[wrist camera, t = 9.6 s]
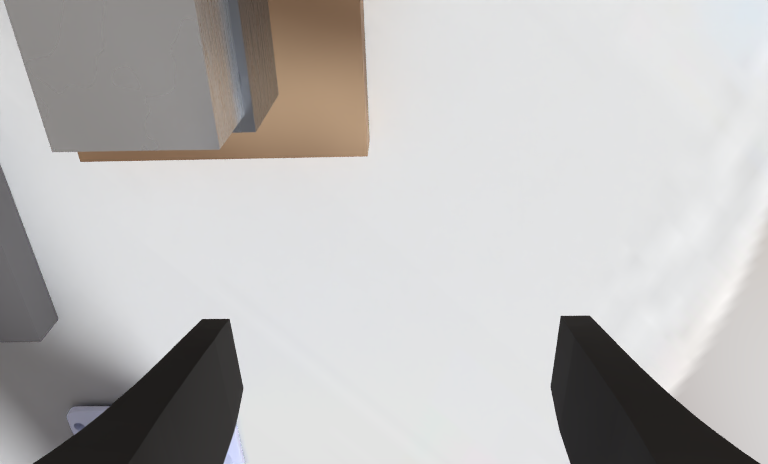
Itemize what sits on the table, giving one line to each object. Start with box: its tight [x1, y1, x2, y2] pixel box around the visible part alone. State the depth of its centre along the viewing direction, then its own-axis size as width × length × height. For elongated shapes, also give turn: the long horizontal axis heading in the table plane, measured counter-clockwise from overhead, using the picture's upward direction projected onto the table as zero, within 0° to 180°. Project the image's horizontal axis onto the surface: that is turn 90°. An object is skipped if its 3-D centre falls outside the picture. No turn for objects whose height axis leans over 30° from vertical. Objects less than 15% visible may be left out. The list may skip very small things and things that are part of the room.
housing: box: [4, 0, 279, 152], centre depth 15 cm, size 6×4×6 cm
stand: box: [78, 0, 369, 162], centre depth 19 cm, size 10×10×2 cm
